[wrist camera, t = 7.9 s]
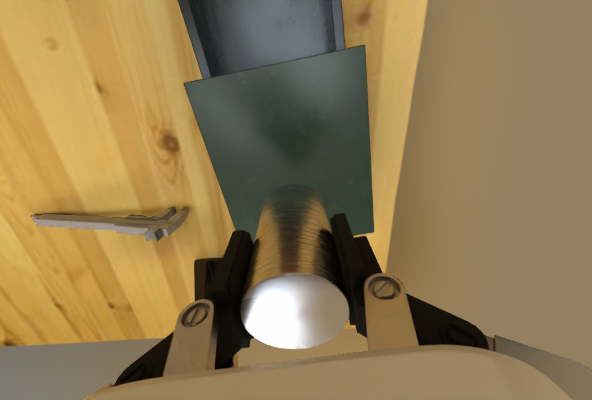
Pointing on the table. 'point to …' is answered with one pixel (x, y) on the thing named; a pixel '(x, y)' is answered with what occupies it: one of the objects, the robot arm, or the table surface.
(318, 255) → the tin
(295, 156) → the cabinet
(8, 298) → the table surface
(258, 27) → the drawer
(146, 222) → the grey bent bar
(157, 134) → the table surface
